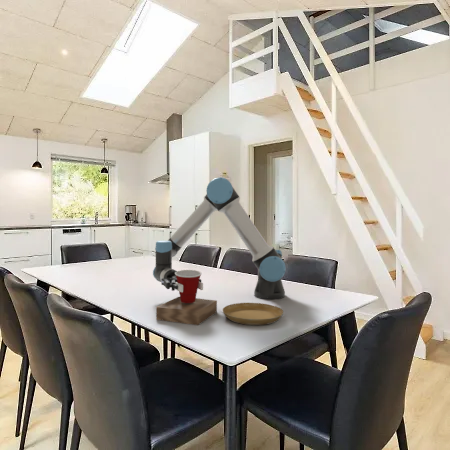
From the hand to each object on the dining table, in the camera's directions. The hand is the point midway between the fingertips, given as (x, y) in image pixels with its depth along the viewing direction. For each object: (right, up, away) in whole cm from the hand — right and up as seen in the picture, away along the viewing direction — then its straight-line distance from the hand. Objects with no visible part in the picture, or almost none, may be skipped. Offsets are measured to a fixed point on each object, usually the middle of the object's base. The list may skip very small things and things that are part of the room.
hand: (192, 287), depth 143 cm
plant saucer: (+24, -13, +3) cm, 27 cm away
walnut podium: (-2, -12, +5) cm, 13 cm away
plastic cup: (-2, -7, +5) cm, 8 cm away
